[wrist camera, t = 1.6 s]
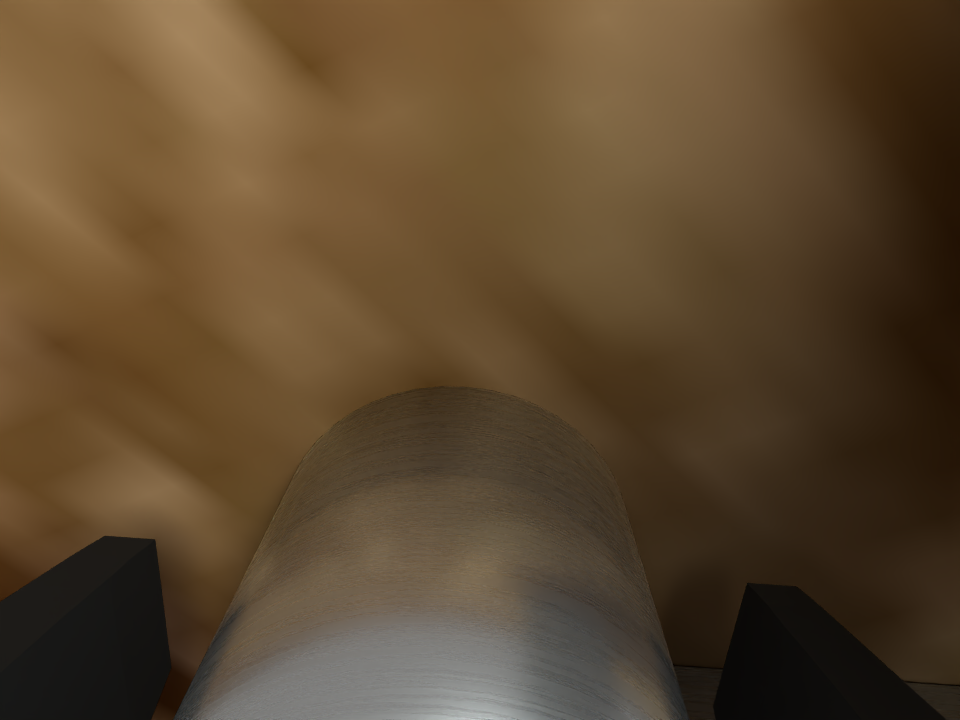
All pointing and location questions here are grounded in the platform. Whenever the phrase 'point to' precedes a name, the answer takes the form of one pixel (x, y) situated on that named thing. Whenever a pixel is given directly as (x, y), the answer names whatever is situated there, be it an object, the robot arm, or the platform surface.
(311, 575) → the shiny metal cylinder
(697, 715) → the grey rectangular frame
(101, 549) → the robot arm
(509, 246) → the platform surface
